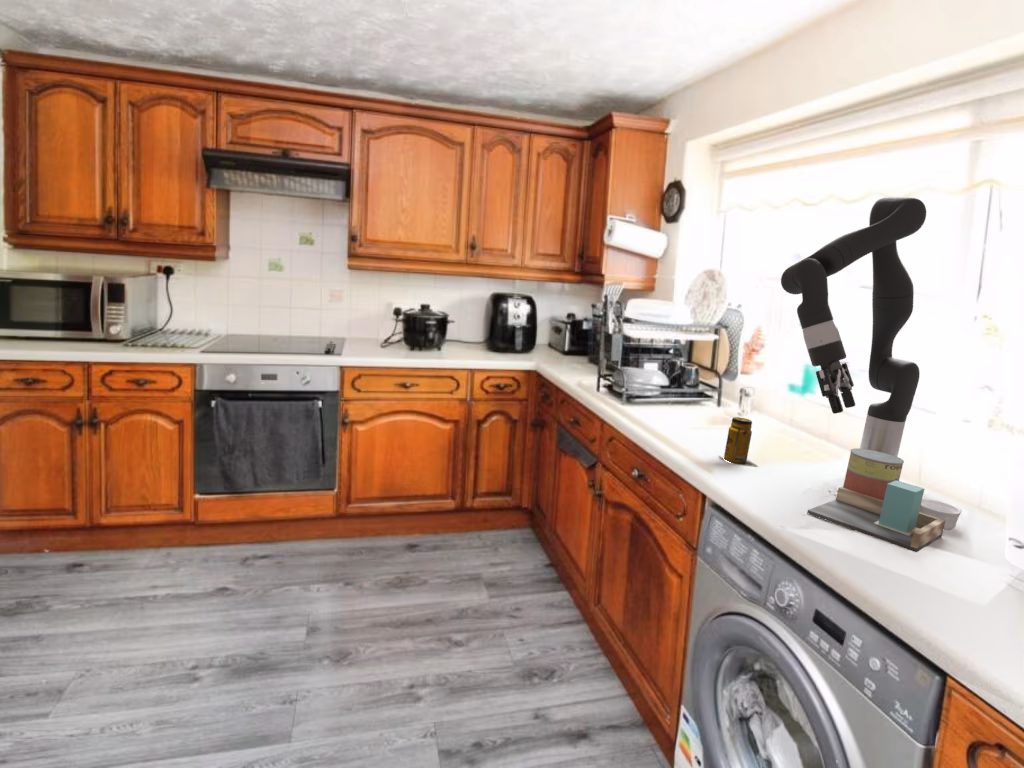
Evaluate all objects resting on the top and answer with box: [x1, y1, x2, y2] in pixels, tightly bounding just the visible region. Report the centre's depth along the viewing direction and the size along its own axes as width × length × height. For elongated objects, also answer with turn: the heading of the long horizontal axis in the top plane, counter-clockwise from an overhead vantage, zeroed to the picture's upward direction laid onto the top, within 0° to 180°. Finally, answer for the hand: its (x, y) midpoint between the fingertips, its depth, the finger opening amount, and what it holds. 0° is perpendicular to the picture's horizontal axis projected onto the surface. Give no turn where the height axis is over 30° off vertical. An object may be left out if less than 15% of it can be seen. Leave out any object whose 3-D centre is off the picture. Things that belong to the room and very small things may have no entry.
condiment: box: [723, 416, 759, 467], centre depth 184 cm, size 7×8×12 cm
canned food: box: [842, 448, 905, 501], centre depth 159 cm, size 11×11×12 cm
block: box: [878, 480, 925, 533], centre depth 143 cm, size 6×6×9 cm
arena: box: [806, 486, 946, 553], centre depth 145 cm, size 16×22×4 cm
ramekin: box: [919, 498, 962, 531], centre depth 151 cm, size 9×9×4 cm
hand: (844, 409), depth 156 cm, fingers open, 8 cm apart
